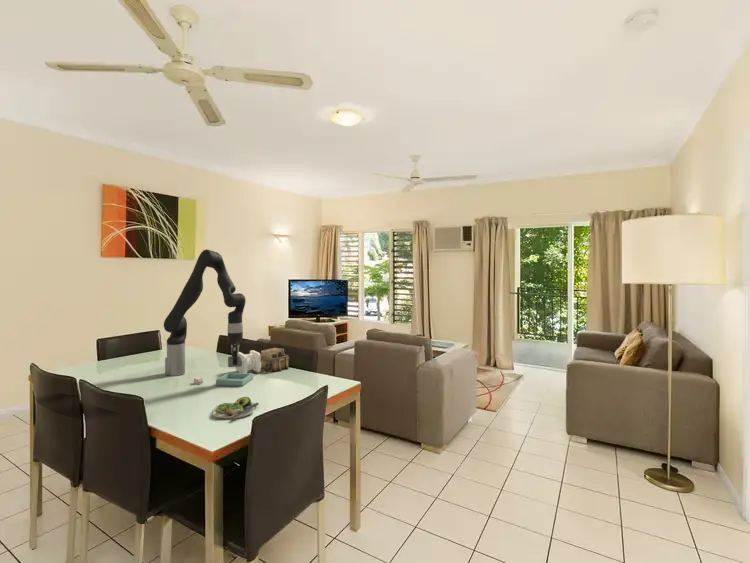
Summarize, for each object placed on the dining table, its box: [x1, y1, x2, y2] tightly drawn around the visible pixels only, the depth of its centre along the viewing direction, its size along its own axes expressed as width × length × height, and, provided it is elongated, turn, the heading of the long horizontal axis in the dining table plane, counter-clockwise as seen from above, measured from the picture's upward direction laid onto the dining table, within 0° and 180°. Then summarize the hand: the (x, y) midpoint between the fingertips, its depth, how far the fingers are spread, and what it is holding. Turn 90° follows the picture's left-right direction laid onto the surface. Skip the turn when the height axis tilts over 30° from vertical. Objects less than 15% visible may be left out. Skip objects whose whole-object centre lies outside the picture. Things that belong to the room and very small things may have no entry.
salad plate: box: [211, 396, 259, 420], centre depth 161 cm, size 19×18×5 cm
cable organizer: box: [235, 349, 262, 374], centre depth 225 cm, size 15×11×12 cm
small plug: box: [193, 376, 204, 385], centre depth 203 cm, size 5×3×3 cm, turn 51°
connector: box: [227, 355, 245, 368], centre depth 206 cm, size 9×3×5 cm, turn 107°
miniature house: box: [260, 347, 290, 374], centre depth 234 cm, size 15×14×11 cm
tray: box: [215, 372, 254, 387], centre depth 205 cm, size 14×14×3 cm
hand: (235, 363), depth 205 cm, fingers closed on connector, 3 cm apart
